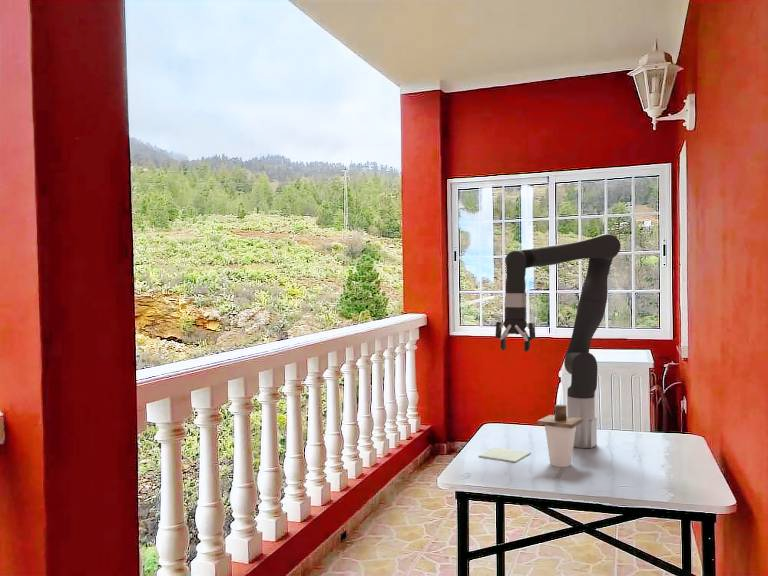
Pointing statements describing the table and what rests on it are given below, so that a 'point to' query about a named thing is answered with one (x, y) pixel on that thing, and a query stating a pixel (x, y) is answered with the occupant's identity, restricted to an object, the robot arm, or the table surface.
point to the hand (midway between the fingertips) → (515, 350)
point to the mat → (505, 454)
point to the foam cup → (560, 445)
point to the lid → (560, 419)
